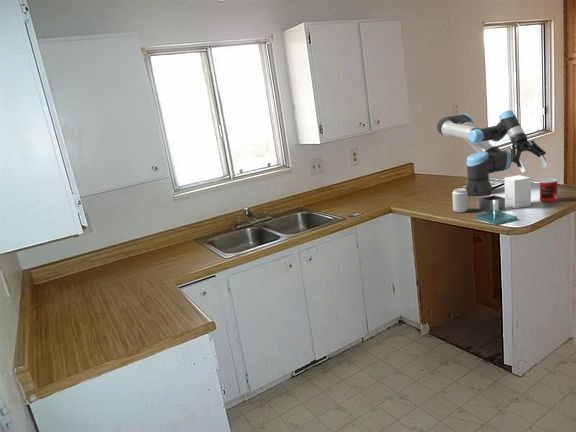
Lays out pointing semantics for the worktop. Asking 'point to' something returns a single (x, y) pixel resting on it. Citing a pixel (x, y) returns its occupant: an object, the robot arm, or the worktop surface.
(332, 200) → the worktop surface
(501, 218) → the plate
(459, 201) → the can
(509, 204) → the supplement box
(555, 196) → the canned food
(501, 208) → the grey open box
